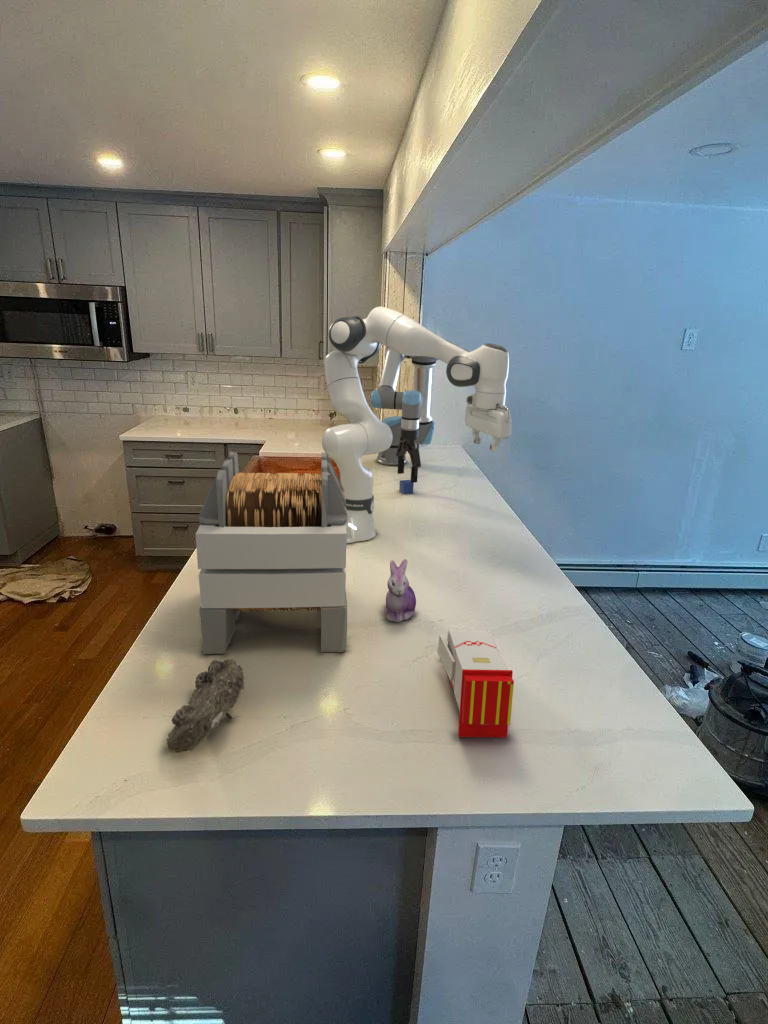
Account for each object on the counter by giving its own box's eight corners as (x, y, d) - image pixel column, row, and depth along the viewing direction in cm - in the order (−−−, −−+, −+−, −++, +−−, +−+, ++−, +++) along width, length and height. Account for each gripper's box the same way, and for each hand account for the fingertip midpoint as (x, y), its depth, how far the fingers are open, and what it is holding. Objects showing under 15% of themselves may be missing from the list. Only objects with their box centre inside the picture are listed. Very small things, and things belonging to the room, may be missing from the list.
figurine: (392, 627, 141) (395, 572, 136) (374, 608, 149) (376, 556, 144) (425, 619, 145) (429, 566, 140) (405, 601, 154) (408, 550, 149)
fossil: (192, 660, 117) (244, 628, 112) (224, 691, 120) (276, 661, 115) (142, 746, 98) (202, 712, 93) (182, 779, 101) (242, 748, 96)
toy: (488, 613, 130) (523, 677, 101) (484, 667, 133) (517, 744, 104) (435, 612, 130) (455, 676, 101) (432, 666, 133) (451, 743, 103)
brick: (413, 493, 244) (413, 482, 243) (403, 494, 243) (403, 483, 241) (408, 490, 248) (409, 479, 247) (399, 491, 247) (399, 480, 245)
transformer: (223, 585, 158) (215, 442, 144) (341, 584, 161) (344, 444, 148) (200, 656, 126) (186, 481, 112) (347, 652, 130) (351, 482, 116)
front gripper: (519, 407, 160) (513, 454, 164) (480, 396, 177) (476, 439, 182) (500, 407, 157) (494, 456, 162) (463, 396, 175) (459, 440, 180)
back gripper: (431, 434, 227) (427, 485, 234) (405, 422, 248) (403, 469, 255) (414, 435, 224) (411, 487, 231) (389, 423, 245) (387, 470, 253)
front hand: (484, 447), depth 172 cm, fingers open, 8 cm apart
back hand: (407, 477), depth 243 cm, fingers open, 13 cm apart
